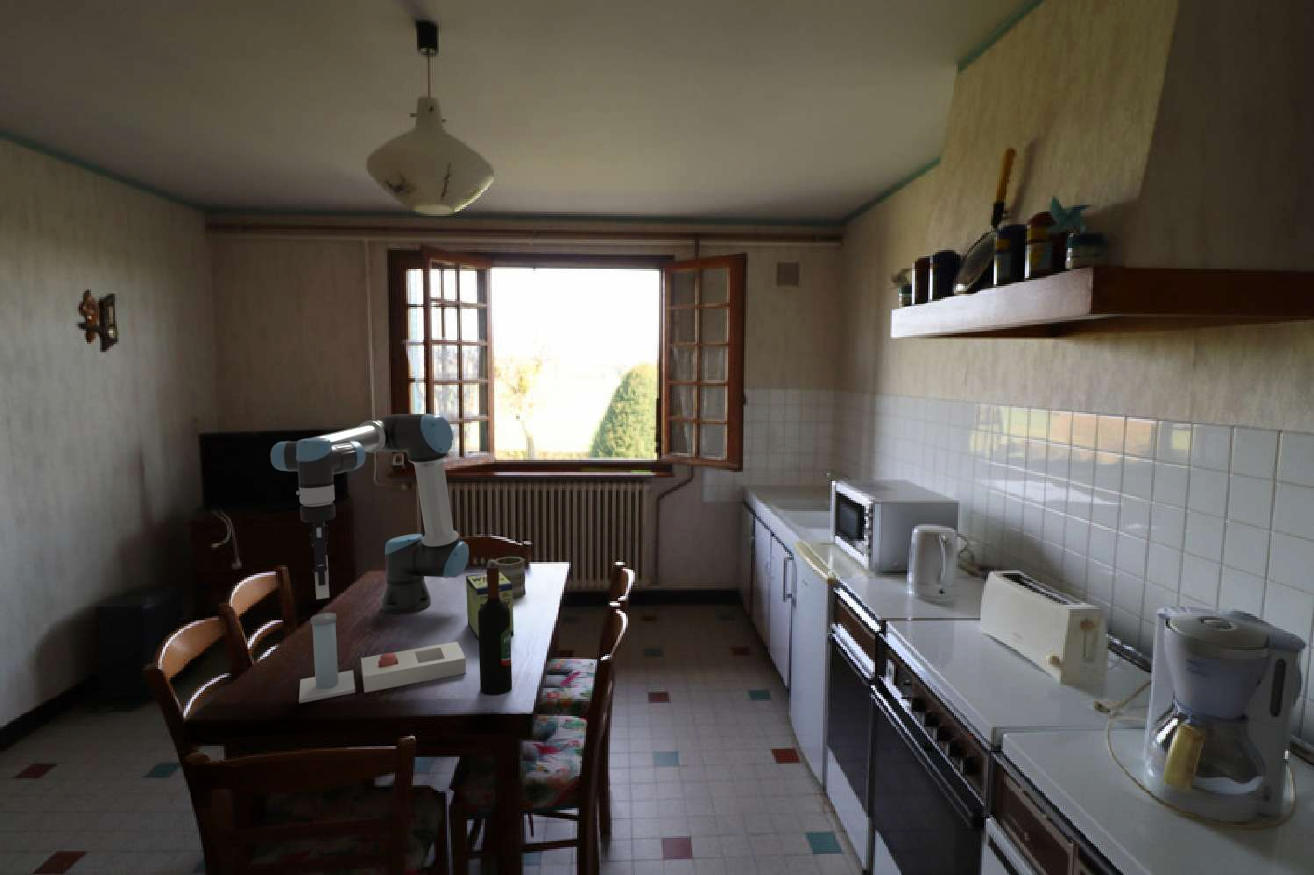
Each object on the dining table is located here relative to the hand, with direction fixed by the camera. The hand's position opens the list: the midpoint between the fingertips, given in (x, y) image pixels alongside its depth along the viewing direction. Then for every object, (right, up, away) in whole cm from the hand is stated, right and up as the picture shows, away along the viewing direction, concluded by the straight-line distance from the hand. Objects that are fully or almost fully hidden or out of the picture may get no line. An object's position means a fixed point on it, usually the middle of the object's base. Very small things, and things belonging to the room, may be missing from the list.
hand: (322, 589), depth 167 cm
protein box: (+31, -21, +39) cm, 54 cm away
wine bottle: (+42, -24, +1) cm, 48 cm away
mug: (+28, -18, +73) cm, 80 cm away
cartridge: (0, -24, +2) cm, 24 cm away
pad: (0, -24, +2) cm, 25 cm away
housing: (+19, -24, +10) cm, 32 cm away
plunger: (+13, -23, +7) cm, 27 cm away
